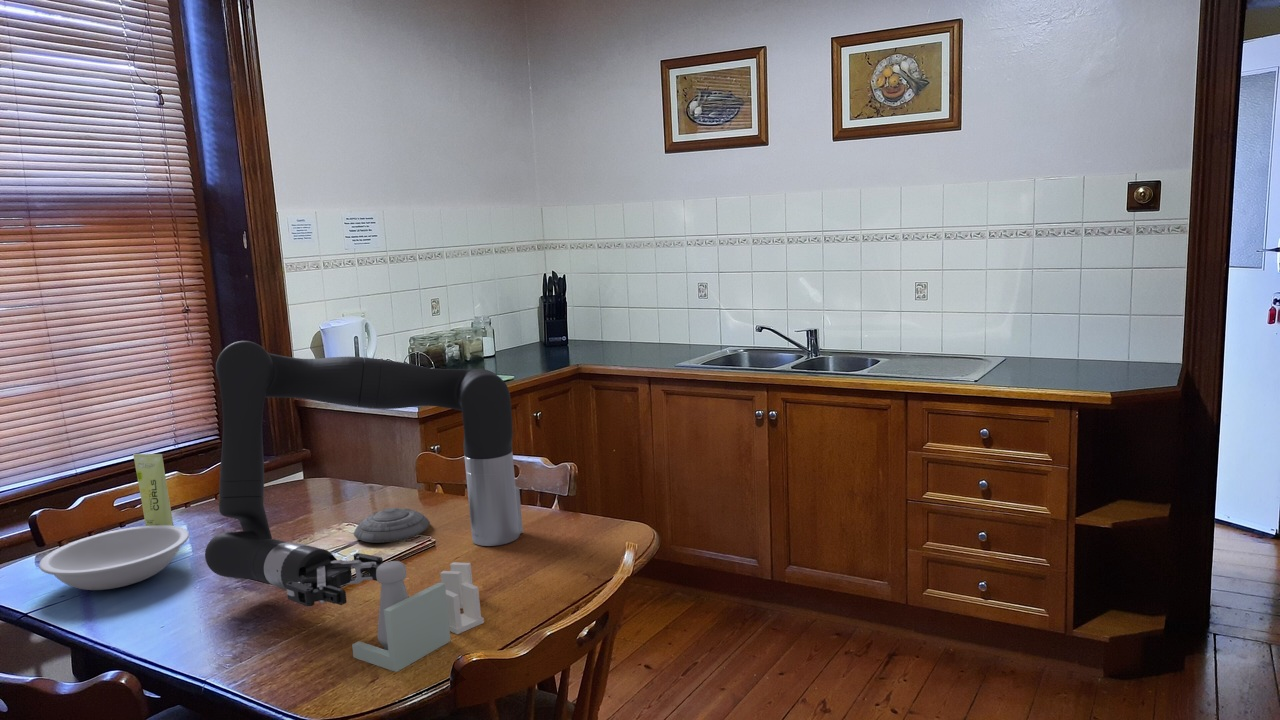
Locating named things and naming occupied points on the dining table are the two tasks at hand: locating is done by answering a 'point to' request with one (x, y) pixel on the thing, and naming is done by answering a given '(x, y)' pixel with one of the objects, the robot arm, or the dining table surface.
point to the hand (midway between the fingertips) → (367, 586)
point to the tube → (153, 489)
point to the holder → (410, 630)
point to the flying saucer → (391, 525)
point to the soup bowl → (115, 557)
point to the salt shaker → (390, 592)
